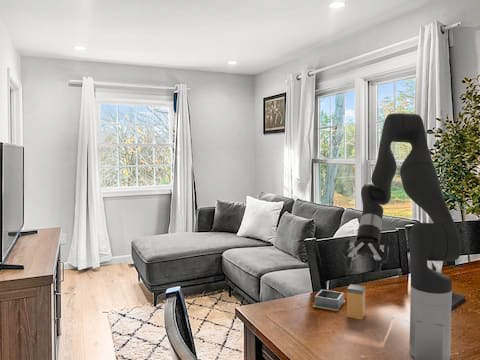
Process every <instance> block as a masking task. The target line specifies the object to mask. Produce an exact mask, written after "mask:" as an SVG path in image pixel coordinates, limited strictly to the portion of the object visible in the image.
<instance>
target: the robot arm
mask: <svg viewBox="0 0 480 360" xmlns="http://www.w3.org/2000/svg"><path fill="white" fill-rule="evenodd" d="M393 142H394V143H407V144H410V146H411V149H410V151H409V153H408V154H407V156H406V157H405V158H404V160H403V162H402V163H401V166H400V170H399V175H400V180H401V184H402V187H403V191H404V193H405V194H406V195H407V197H409V199H410V200H411V201H412V202H414V203H415V204H416V205H417V206H418V207H420V208H421V209H422V211H424V212H425V213H426V215H428V216H429V218H430V219H431V221H432V222H416V223H413V224H412V225H411V228H410V231H409V262H410V264H409V265H410V266H409V267H410V268H409V272H410V273H409V274H410V300H409V301H410V303H409V305H410V306H409V307H410V308H409V311H410V312H409V353H410V355H411V356H412V357H413V358H414V360H451V347H452V345H451V341H452V338H451V337H452V335H451V334H452V310H451V302H452V293H453V292H452V291H453V281H452V279H451V277H449V276H448V275H447V274H444V273H442V272H441V273H439V272H437V271H434V270H432V269H430V268H429V267H428V265H427V261H443V262H453V261H456V260H458V259H459V258H460V256H461V254H462V241H461V237H460V233H459V230H458V227H457V225H456V223H455V221H454V219H453V216H452V214H451V212H450V210H449V207H448V205H447V203H446V199H445V197H444V194H443V191H442V188H441V182H440V179H439V176H438V173H437V170H436V167H435V164H434V162H433V159H432V156H431V153H430V148H429V145H428V140H427V134H426V129H425V123H424V120H423V119H422V116H421V115H420V114H416V113H412V112H411V113H410V112H390V113H388V114H387V116H386V117H385V119H384V121H383V127H382V131H381V135H380V141H379V146H378V147H379V148H378V153H377V158H376V162H375V165H374V169H373V171H372V174H371V178H370V179H371V182H366V183H365V184H363V185H362V188H361V191H360V195H361V202H362V213H361V218H360V221H359V224H358V229H357V234H356V239H355V241H354V242H351V241H350V240H345V244H344V248H343V252H342V255H343V258H344V259H347V261H346V268H347V270H348V271H351V270H352V269H353V268H352V267H353V263H354V262H353V260H355V259H356V258H358V257H359V256H361V257H368V258H371V257H373V259H374V260H375V261H376V262H375V267H374V273H375V274H377V275H378V274H379V273H380V272H381V270H382V264H388V263H389V251H390V248H389V244H388V243H384V244H380V242H381V241H380V240H381V235H382V234H381V233H382V227H383V217H384V216H383V215H384V208H383V206H385V205H387V204H389V203H390V200H391V197H392V191H391V190H392V182H393V179H394V177H395V174H396V171H397V162H396V161H397V160H396V159H395V156H394V154H393V151H392V149H391V145H392V143H393ZM353 247H354V248H353ZM351 249H352V251H350V250H351ZM380 250H381V251H382V252H383V256H382V257H381V256H380V254H379V253H378V251H380Z"/></svg>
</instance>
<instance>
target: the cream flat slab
mask: <svg viewBox="0 0 480 360" xmlns="http://www.w3.org/2000/svg"><path fill="white" fill-rule="evenodd" d="M345 302H346V300H345V299H344V302H343V303H342V305H341V306H340V307H339V309H332V308H327V307H321V306H315V304H313V306H312V307H314V308H317V309H318V308H319V309H325V310H331V311H337V312H338V311H339V310H340V308H341V307H342V306H343V304H345Z"/></svg>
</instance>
